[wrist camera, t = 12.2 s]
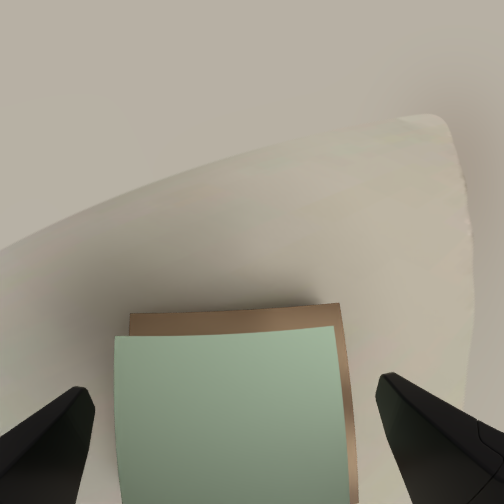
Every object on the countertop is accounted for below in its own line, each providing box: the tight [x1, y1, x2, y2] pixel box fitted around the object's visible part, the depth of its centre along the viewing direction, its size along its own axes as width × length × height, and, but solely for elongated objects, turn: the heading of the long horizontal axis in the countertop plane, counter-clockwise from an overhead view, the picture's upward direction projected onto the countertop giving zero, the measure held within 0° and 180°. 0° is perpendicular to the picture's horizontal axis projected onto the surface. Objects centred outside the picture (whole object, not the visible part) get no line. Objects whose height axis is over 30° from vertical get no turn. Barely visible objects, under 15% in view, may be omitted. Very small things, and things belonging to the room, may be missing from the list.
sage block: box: [114, 326, 350, 504], centre depth 10 cm, size 5×5×10 cm
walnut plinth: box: [129, 303, 359, 504], centre depth 16 cm, size 12×12×2 cm
